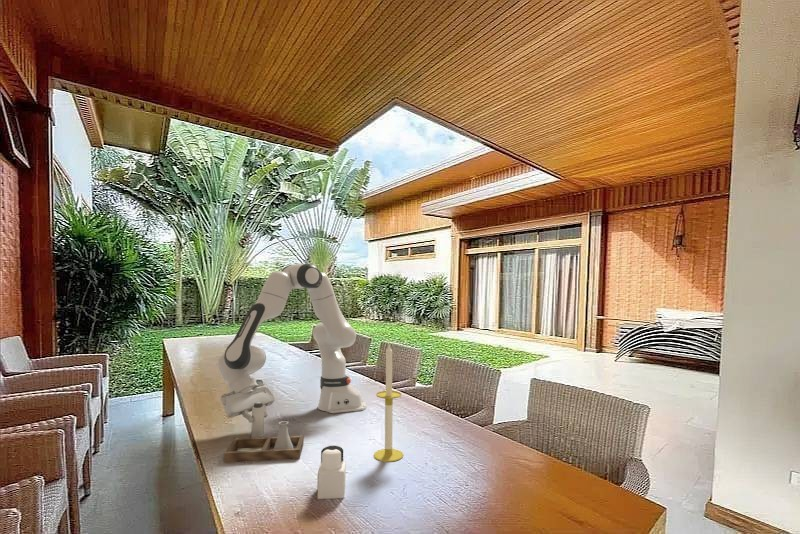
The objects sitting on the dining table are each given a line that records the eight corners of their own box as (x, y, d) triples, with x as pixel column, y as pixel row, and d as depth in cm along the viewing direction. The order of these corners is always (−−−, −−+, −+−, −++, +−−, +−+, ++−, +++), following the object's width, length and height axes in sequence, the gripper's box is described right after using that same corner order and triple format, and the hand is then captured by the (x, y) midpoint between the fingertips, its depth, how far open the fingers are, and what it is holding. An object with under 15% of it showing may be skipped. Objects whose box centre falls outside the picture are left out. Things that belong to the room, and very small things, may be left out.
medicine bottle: (320, 486, 116) (320, 443, 116) (345, 485, 117) (345, 442, 117) (317, 499, 109) (317, 454, 109) (344, 498, 109) (344, 453, 110)
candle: (380, 464, 130) (381, 345, 132) (369, 452, 139) (370, 341, 141) (408, 458, 134) (409, 344, 136) (395, 447, 144) (396, 340, 145)
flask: (287, 457, 135) (288, 427, 135) (267, 455, 136) (268, 425, 137) (297, 449, 142) (297, 419, 142) (278, 447, 143) (278, 418, 144)
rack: (303, 444, 146) (303, 435, 146) (299, 459, 134) (299, 449, 134) (234, 447, 143) (234, 438, 143) (224, 462, 131) (224, 453, 131)
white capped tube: (264, 433, 156) (265, 401, 156) (262, 438, 152) (263, 404, 152) (252, 434, 155) (253, 401, 156) (250, 438, 151) (250, 405, 152)
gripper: (222, 390, 149) (239, 422, 143) (267, 379, 166) (283, 407, 161) (214, 400, 151) (231, 432, 146) (259, 388, 169) (275, 416, 163)
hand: (259, 419), depth 153 cm, fingers closed on white capped tube, 4 cm apart
